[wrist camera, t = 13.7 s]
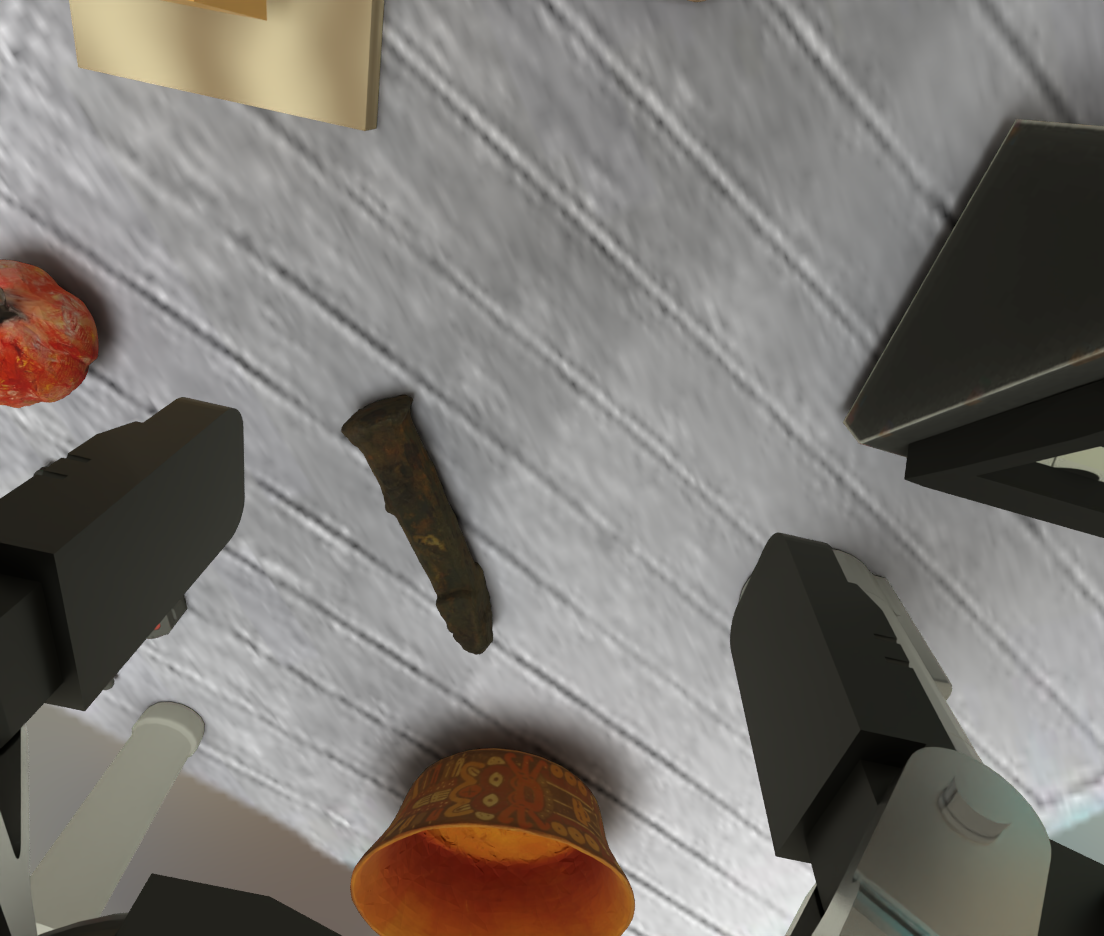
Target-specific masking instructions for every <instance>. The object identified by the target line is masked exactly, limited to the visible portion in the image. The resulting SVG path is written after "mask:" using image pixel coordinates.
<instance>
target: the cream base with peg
mask: <svg viewBox="0 0 1104 936" xmlns="http://www.w3.org/2000/svg"><path fill="white" fill-rule="evenodd" d="M69 2H70V9H71V17H72V24H73V32H74V39H75V47H76V54H77V62H78V67H79V68H84V69H88V70H93V71H97V72H102V73H106V74H111V75H115V76H120V77H124V78H129V79H133V80H138V81H142V82H147V83H151V84H156V85H160V86H165V87H169V88H174V89H178V90H183V91H187V92H192V93H196V94H201V95H205V96H210V97H214V98H219V99H224V100H228V101H233V102H237V103H242V104H246V105H251V106H255V107H260V108H264V109H269V110H273V111H278V112H282V113H287V114H291V115H296V116H300V117H305V118H309V119H314V120H318V121H323V122H327V123H332V124H336V125H341V126H345V127H350V128H354V129H359V130H363V131H367V130H371V129H376V127H377V110H378V94H379V77H380V61H381V44H382V28H383V11H384V0H266V5H267V21H265V20H260V19H255V18H250V17H245V16H240V15H234V14H229V13H224V12H219V11H214V10H208V9H203V8H198V7H193V6H188V5H183V4H177V3H172V2H167V1H162V0H69Z"/></svg>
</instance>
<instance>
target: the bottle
mask: <svg viewBox="0 0 1104 936" xmlns="http://www.w3.org/2000/svg"><path fill="white" fill-rule="evenodd" d="M203 734H204V723H203V721H202V719H201V717H200V716H199V715H198V714H197V713H196V712H195V711H193V710H192V709H190V708H188V707H186V706H184V705H182V704H178V703H173V702H159V703H157V704H154V705H152V706H150V707H149V708H148V709H147V710H146V711H145V712H144V713H143V714H142V715H141V717H140V718H139V719H138V721H137V722H136V723H135V725H134V726H133V728H132V735H131V737H130V738H129V740H128V741H127V742H126V744H125V745H124V746H123V748H122V749H121V751H120V752H119V753H118V755H117V756H116V758H115V759H114V761H113V762H112V763H111V765H110V766H109V767H108V769H107V770H106V772H105V773H104V774H103V776H102V777H101V779H100V780H99V782H98V783H97V784H96V786H95V787H94V788H93V790H92V791H91V792H90V794H89V795H88V797H87V798H86V800H85V801H84V802H83V804H82V805H81V807H80V808H79V809H78V811H77V812H76V814H75V815H74V816H73V818H72V819H71V820H70V822H69V823H68V825H67V826H66V827H65V829H64V830H63V832H62V833H61V835H60V836H59V837H58V838H57V840H56V841H55V843H54V844H53V845H52V847H51V848H50V850H49V851H48V852H47V854H46V855H45V857H44V858H43V859H42V861H41V862H40V864H39V865H38V867H37V868H36V869H35V871H34V872H33V873H32V875H31V876H30V883H31V894H32V902H33V909H34V915H35V921H36V928H37V935H40V934H42V933H45V932H48V931H51V930H54V929H57V928H60V927H64V926H67V925H70V924H73V923H76V922H79V921H83V920H88V919H93V918H98V917H100V915H101V913H102V911H103V910H104V908H105V906H106V904H107V902H108V901H109V898H110V897H111V895H112V893H113V892H114V890H115V888H116V886H117V884H118V883H119V881H120V879H121V877H122V875H123V873H124V872H125V870H126V868H127V866H128V865H129V863H130V861H131V859H132V857H133V855H134V854H135V852H136V850H137V848H138V846H139V845H140V843H141V841H142V839H143V838H144V836H145V834H146V832H147V830H148V828H149V827H150V825H151V823H152V821H153V819H154V818H155V816H156V814H157V812H158V811H159V809H160V807H161V805H162V803H163V801H164V800H165V798H166V796H167V794H168V792H169V791H170V789H171V787H172V785H173V783H174V782H175V780H176V778H177V776H178V774H179V773H180V771H181V769H182V767H183V765H184V764H185V762H186V760H187V758H188V757H190V756H192V754H193V753H194V752H195V751H196V750H197V748H198V746H199V744H200V742H201V740H202V737H203Z"/></svg>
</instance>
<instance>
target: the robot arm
mask: <svg viewBox="0 0 1104 936" xmlns="http://www.w3.org/2000/svg"><path fill="white" fill-rule="evenodd" d="M244 498H245V492H244V435H243V420H242V416H241V414H240V412H239V411H238V410H237V409H235V408H230V407H226V406H221V405H217V404H213V403H208V402H204V401H199V400H195V399H190V398H186V397H181V398H178V399H176V400H175V401H173V402H172V403H170V404H169V405H167V406H166V407H165V408H163V409H162V410H160V411H159V412H158V413H156V414H155V415H153V416H152V417H151V418H149V419H148V420H146V421H145V422H143V423H141V422H137V421H135V422H132V423H129V424H126V425H123V426H120V427H117V428H114V429H111V430H108V431H105V432H102V433H99V434H96V435H95V436H93V437H92V438H90V439H89V440H87V441H86V442H84V443H83V444H81V445H80V446H78V447H77V448H75V449H74V450H72V451H71V452H69V453H68V456H67V458H60V459H59V460H57V461H56V462H54V463H53V464H51V465H50V466H48V467H47V468H45V469H44V470H43V474H42V475H38V474H36V475H35V476H33V477H32V478H30V479H29V480H27V481H26V482H24V483H23V484H21V485H20V486H18V487H17V488H15V489H14V490H12V491H11V492H9V493H8V494H6V495H5V496H4V497H2V498H1V499H0V936H341V935H340V934H338V933H336V932H334V931H332V930H330V929H328V928H327V927H325V926H323V925H321V924H319V923H317V922H316V921H314V920H312V919H310V918H308V917H306V916H305V915H303V914H301V913H299V912H297V911H295V910H293V909H292V908H290V907H288V906H286V905H284V904H282V903H281V902H279V901H277V900H275V899H273V898H271V897H269V896H264V895H259V894H254V893H249V892H244V891H238V890H233V889H228V888H223V887H218V886H213V885H208V884H202V883H197V882H193V881H188V880H182V879H177V878H172V877H167V876H162V875H157V874H151V876H150V877H149V879H148V881H147V882H146V884H145V886H144V887H143V889H142V891H141V893H140V894H139V896H138V898H137V900H136V901H135V903H134V904H133V906H132V908H131V910H130V911H129V913H119V914H112V915H108V916H103V917H98V918H93V919H88V920H83V921H79V922H76V923H73V924H70V925H67V926H64V927H60V928H57V929H54V930H51V931H48V932H45V933H42V934H40V935H37V928H36V921H35V915H34V909H33V902H32V894H31V883H30V840H29V839H30V831H29V740H28V732H27V729H26V725H25V723H26V722H27V721H28V720H29V719H30V718H31V717H32V715H33V714H34V713H35V712H36V711H37V710H38V709H39V708H40V707H41V706H42V705H43V704H44V703H47V704H52V705H57V706H62V707H67V708H72V709H76V710H81V711H86V709H87V708H88V707H89V706H90V705H91V703H92V702H93V701H94V700H95V699H96V698H97V696H98V695H99V694H100V693H101V692H102V690H103V689H104V688H105V687H106V686H107V685H108V683H109V682H110V681H111V680H112V679H113V677H114V676H115V675H116V674H117V673H118V672H119V670H120V669H121V668H122V667H123V666H124V665H125V663H126V662H127V661H128V660H129V659H130V657H131V656H132V655H133V654H134V653H135V652H136V650H137V649H138V648H139V647H140V646H141V644H142V643H143V642H144V641H145V640H146V639H147V637H148V636H149V635H150V634H151V633H152V631H153V630H154V629H155V628H156V627H157V626H158V624H159V623H160V622H161V621H162V620H163V619H164V617H165V616H166V615H167V614H168V613H169V611H170V610H171V609H172V608H173V607H174V606H175V604H176V603H177V602H178V601H179V600H180V598H181V597H182V596H183V595H184V594H185V593H186V591H187V590H188V589H189V588H190V587H191V585H192V584H193V583H194V582H195V581H196V580H197V578H198V577H199V576H200V575H201V574H202V573H203V571H204V570H205V569H206V568H207V567H208V565H209V564H210V563H211V562H212V561H213V560H214V558H215V557H216V556H217V555H218V554H219V552H220V551H221V550H222V549H223V548H224V547H225V545H226V544H227V543H228V542H229V541H230V539H231V538H232V537H233V535H234V533H235V531H236V529H237V527H238V525H239V523H240V520H241V516H242V513H243V508H244ZM730 646H731V653H732V657H733V662H734V666H735V671H736V676H737V680H738V685H739V689H740V694H741V699H742V703H743V708H744V712H745V717H746V722H747V726H748V731H749V735H750V740H751V745H752V749H753V754H754V759H755V763H756V768H757V772H758V777H759V782H760V786H761V791H762V795H763V800H764V805H765V809H766V814H767V818H768V823H769V828H770V832H771V837H772V841H773V846H774V851H775V855H776V856H777V857H782V858H787V859H791V860H796V861H801V862H806V863H811V864H812V868H813V872H814V876H815V880H816V883H815V885H814V886H813V887H812V889H811V890H810V891H809V893H808V894H807V895H806V897H805V899H804V901H803V902H802V904H801V906H800V908H799V910H798V912H797V914H796V916H795V918H794V919H793V921H792V923H791V925H790V927H789V929H788V931H787V933H786V934H785V936H1104V865H1103V864H1100V863H1098V862H1096V861H1094V860H1092V859H1090V858H1088V857H1086V856H1083V855H1082V854H1080V853H1077V852H1075V851H1073V850H1071V849H1069V848H1067V847H1065V846H1063V845H1061V844H1059V843H1057V842H1055V841H1053V840H1050V839H1049V837H1048V835H1047V832H1046V830H1045V827H1044V826H1043V824H1042V822H1041V820H1040V818H1039V817H1038V815H1037V814H1036V812H1035V811H1034V810H1033V808H1032V807H1031V805H1030V804H1029V803H1028V802H1027V801H1026V800H1025V798H1024V797H1023V796H1022V795H1021V794H1020V793H1019V792H1018V791H1017V790H1016V789H1015V788H1014V787H1013V786H1012V785H1011V784H1010V783H1009V782H1007V781H1006V780H1005V779H1004V778H1003V777H1001V776H1000V775H999V774H997V773H996V772H995V771H993V770H992V769H990V768H989V767H987V766H986V765H984V764H983V762H982V761H981V759H980V758H979V756H978V754H977V753H976V751H975V749H974V748H973V746H972V744H971V743H970V741H969V739H968V738H967V736H966V734H965V732H964V731H963V729H962V727H961V726H960V724H959V722H958V721H957V719H956V717H955V716H954V714H953V712H952V710H951V709H950V707H949V705H948V704H947V702H946V700H947V699H948V697H949V696H950V694H951V692H952V685H951V683H950V681H949V679H948V678H947V676H946V674H945V673H944V671H943V669H942V668H941V666H940V665H939V663H938V661H937V660H936V658H935V656H934V655H933V653H932V652H931V650H930V648H929V647H928V645H927V644H926V642H925V640H924V639H923V637H922V635H921V634H920V632H919V631H918V629H917V627H916V626H915V624H914V622H913V621H912V619H911V618H910V616H909V614H908V613H907V611H906V610H905V608H904V606H903V605H902V603H901V601H900V600H899V598H898V597H897V595H896V593H895V592H894V590H893V588H892V587H891V585H890V584H889V582H888V580H887V579H886V578H882V577H877V576H875V575H873V574H872V573H871V572H870V571H869V570H868V569H867V568H866V566H865V565H864V564H863V563H862V562H861V561H859V560H858V559H856V558H855V557H854V556H852V555H849V554H847V553H845V552H842V551H839V550H834V549H832V548H831V547H830V546H829V545H828V544H827V543H823V542H819V541H814V540H810V539H805V538H801V537H797V536H792V535H788V534H783V533H775V534H774V535H772V536H771V538H770V539H769V540H768V542H767V544H766V545H765V548H764V550H763V552H762V554H761V556H760V558H759V560H758V563H757V565H756V567H755V569H754V571H753V573H752V575H751V577H750V578H749V579H748V581H747V583H746V584H745V586H744V588H743V589H742V593H741V596H740V599H739V603H738V605H737V608H736V610H735V613H734V616H733V620H732V625H731V633H730Z"/></svg>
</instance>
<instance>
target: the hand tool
mask: <svg viewBox="0 0 1104 936" xmlns="http://www.w3.org/2000/svg"><path fill="white" fill-rule="evenodd" d="M412 401H413V398H411V397H409V396H407V395H401V396H398V397H394V398H387V399H383V400H380V401H376V402H374V403H372V404H370V405H368V406H365V407H364V408H363V409H360V410H358V411H357V412H356V413H354V414H353V415H352V416H351V418H350V419H349V420H348V421H347V422H346V423H345V424H344V425H343V426H342V429H341V432H342V433H343V434H344V435H345V437H347V438H348V439H349V440H350V442H351V443H352V444H353V445H354V446H356V447H358V448H359V449H360V451H361V452H362V453H363V454H364V456H365V458H366V460H367V462H368V464H369V466H370V468H371V469H372V472H373V473H374V475H375V477H376V478H377V480H378V482H379V484H380V486H381V490H382V493H383V495H384V501H385V510H386V511H387V512H388V513H391V514H393V515H394V516H395V517H396V518H397V519H398V522H399V524H400V525H401V527H402V529H403V531H404V533H405V534H406V536H407V538H408V540H409V542H410V544H411V546H412V548H413V550H414V552H415V554H416V556H417V558H418V560H419V562H420V563H421V565H422V567H423V569H424V570H425V572H426V574H427V575H428V577H429V579H430V581H431V583H432V585H433V588H434V590H435V592H436V594H437V600H436V606H437V609H438V611H439V612H440V615H441V616H442V618H443V619H444V620H445V621H446V624H447V629H448V630H449V631H450V632H451V633H453V637H454V639H455V640H456V642H458V643H459V644H460V645H461V646H462V648H463V649H464V650H466V651H468V652H470V653H473V654H475V655H477V654H481V653H483V652H484V651H485V650H486V649H487V647H488V646H489V645H490V643H492V642H493V631H492V611H491V604H490V596H489V593H488V591H487V587H486V582H485V578H484V574H483V570H482V568H481V567H480V565H479V564H478V563H476V562H474V561H473V558H472V556H471V554H470V551H469V549H468V546H467V544H466V541H465V539H464V536H463V534H462V532H461V530H460V528H459V524H458V521H457V518H456V516H455V513H454V512H453V510H452V509H451V507H450V505H449V503H448V500H447V498H446V495H445V493H444V491H443V488H442V484H441V483H440V480H439V478H438V475H437V472H436V469H435V467H434V464H433V462H432V461H431V460H430V458H429V456H428V454H427V451H426V450H425V448H424V446H423V444H422V442H421V439H420V437H419V435H418V433H417V431H416V429H415V426H414V423H413V421H412V418H411V413H410V406H411V404H412Z"/></svg>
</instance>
